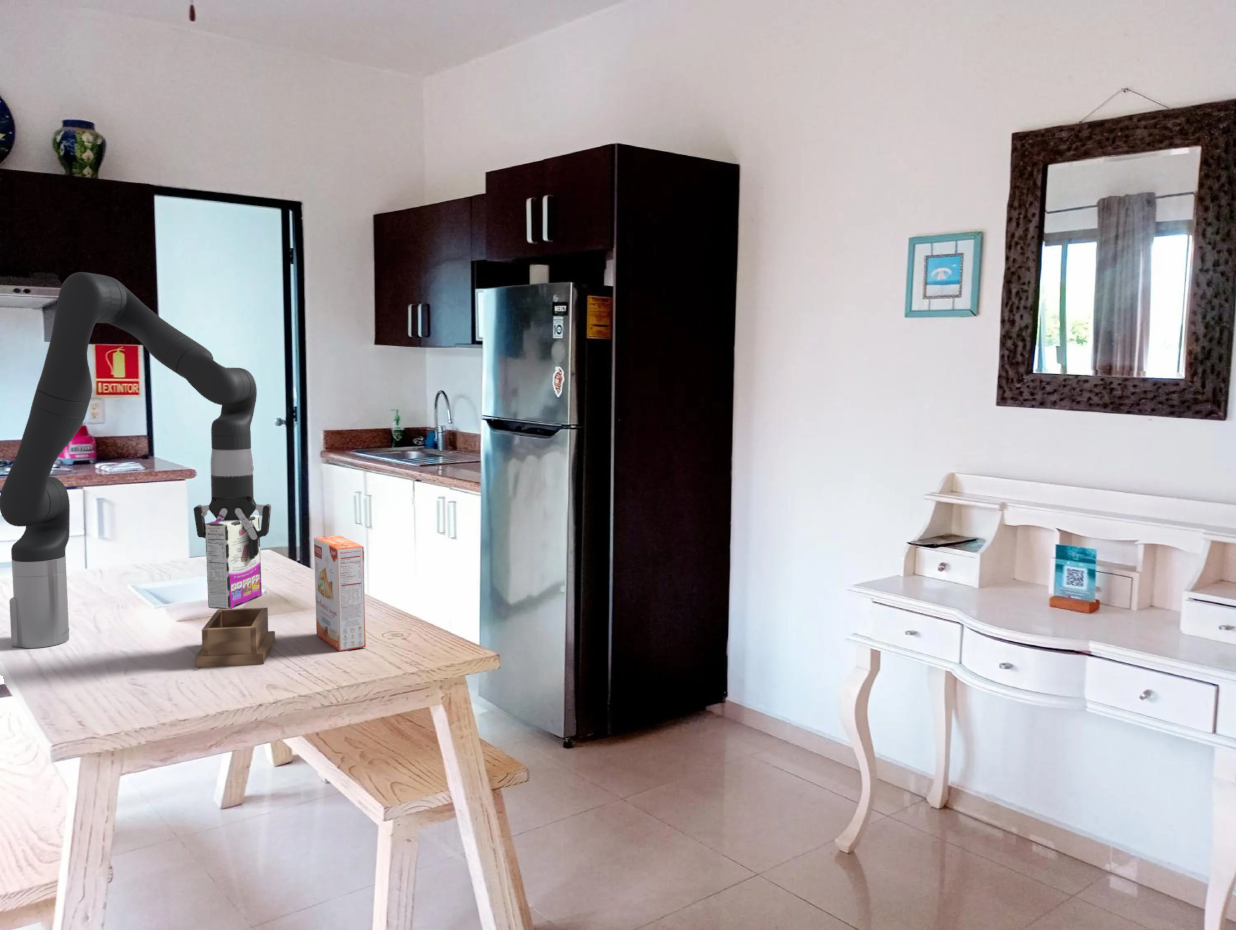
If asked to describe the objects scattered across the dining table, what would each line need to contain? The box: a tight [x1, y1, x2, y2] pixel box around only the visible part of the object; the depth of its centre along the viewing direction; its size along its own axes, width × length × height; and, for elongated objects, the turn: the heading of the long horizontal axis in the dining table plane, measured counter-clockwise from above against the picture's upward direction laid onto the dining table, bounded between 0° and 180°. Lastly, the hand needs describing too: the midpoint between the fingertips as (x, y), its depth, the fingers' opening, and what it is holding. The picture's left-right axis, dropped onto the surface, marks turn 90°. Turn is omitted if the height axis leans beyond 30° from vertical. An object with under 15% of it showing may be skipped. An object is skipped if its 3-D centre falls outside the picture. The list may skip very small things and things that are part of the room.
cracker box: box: [313, 534, 367, 652], centre depth 196 cm, size 14×6×21 cm, turn 35°
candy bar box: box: [205, 514, 263, 610], centre depth 187 cm, size 11×5×16 cm, turn 169°
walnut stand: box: [194, 607, 276, 668], centre depth 188 cm, size 12×16×7 cm
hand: (234, 558), depth 187 cm, fingers closed on candy bar box, 6 cm apart
